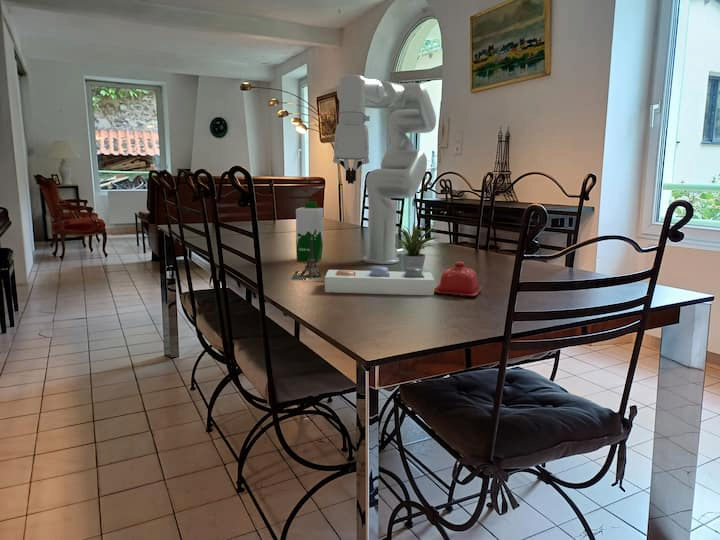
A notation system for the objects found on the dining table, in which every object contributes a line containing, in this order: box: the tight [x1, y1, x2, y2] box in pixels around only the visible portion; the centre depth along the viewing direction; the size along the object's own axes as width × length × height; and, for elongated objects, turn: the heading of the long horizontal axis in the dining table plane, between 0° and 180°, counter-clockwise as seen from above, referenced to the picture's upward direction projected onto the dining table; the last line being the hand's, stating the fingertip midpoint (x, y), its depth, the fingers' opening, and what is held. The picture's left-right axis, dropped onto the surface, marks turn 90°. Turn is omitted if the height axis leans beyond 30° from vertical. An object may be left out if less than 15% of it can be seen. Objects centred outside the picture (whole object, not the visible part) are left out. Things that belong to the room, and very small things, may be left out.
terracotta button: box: [337, 269, 354, 276], centre depth 138 cm, size 4×4×3 cm
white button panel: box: [324, 269, 436, 296], centre depth 138 cm, size 28×10×4 cm, turn 88°
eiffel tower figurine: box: [291, 233, 325, 281], centre depth 153 cm, size 15×10×13 cm
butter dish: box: [434, 261, 483, 297], centre depth 136 cm, size 12×12×8 cm
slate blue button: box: [370, 265, 389, 277], centre depth 138 cm, size 4×4×3 cm
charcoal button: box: [405, 267, 423, 278], centre depth 137 cm, size 4×4×3 cm
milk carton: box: [295, 201, 324, 264], centre depth 178 cm, size 9×9×20 cm
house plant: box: [394, 222, 441, 272], centre depth 156 cm, size 14×14×16 cm
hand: (350, 183), depth 155 cm, fingers closed
